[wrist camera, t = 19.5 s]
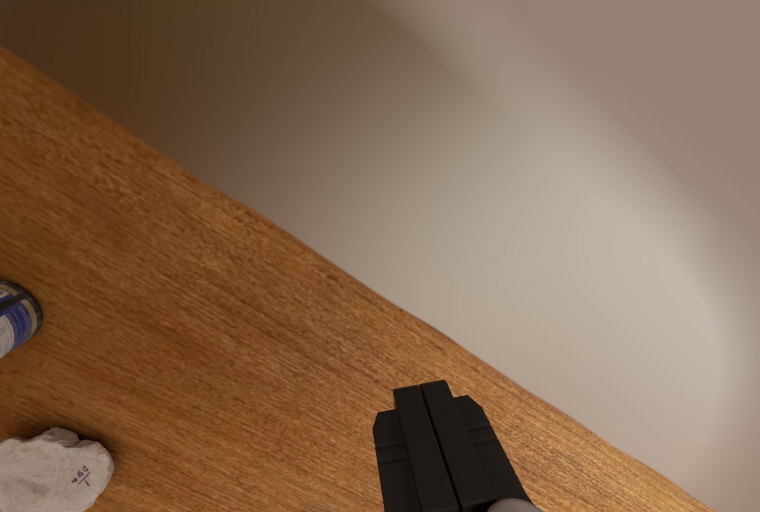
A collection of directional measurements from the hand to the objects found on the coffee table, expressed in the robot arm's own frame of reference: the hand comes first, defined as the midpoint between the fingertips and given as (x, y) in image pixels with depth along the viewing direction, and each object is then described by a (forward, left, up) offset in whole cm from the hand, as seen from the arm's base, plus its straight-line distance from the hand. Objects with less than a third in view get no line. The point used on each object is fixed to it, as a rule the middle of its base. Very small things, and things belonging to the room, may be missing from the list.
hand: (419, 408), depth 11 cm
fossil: (+24, -33, -23) cm, 47 cm away
